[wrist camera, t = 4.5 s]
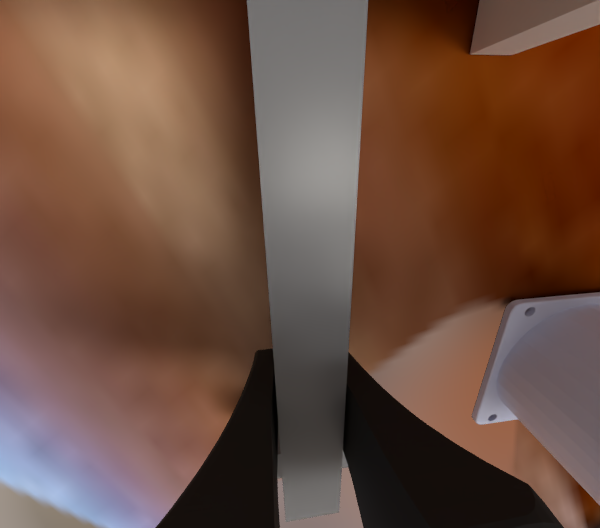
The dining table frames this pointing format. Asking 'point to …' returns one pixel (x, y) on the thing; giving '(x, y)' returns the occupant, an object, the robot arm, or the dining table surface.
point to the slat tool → (309, 226)
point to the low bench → (529, 23)
